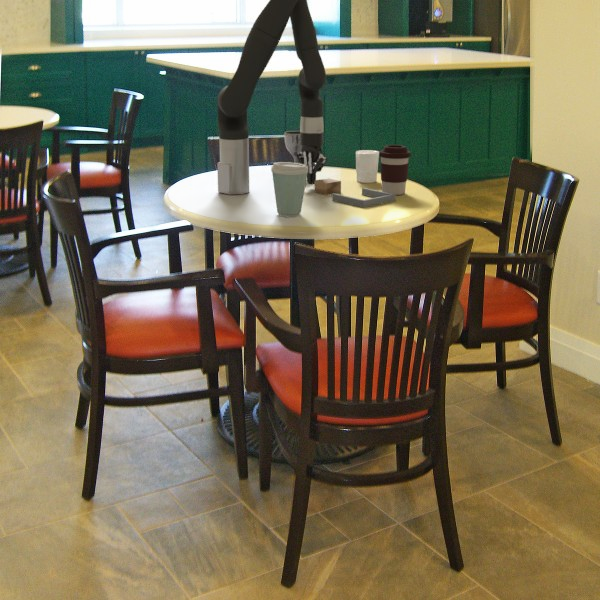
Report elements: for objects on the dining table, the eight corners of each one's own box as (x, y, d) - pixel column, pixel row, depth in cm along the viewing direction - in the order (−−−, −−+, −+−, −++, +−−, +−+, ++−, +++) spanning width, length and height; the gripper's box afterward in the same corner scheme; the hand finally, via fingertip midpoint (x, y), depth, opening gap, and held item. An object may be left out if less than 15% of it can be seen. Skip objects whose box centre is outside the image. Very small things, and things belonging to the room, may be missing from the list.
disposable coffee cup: (287, 209, 261) (287, 158, 257) (316, 214, 255) (316, 162, 250) (263, 215, 254) (263, 163, 249) (292, 221, 247) (292, 167, 242)
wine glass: (307, 177, 309) (307, 133, 304) (284, 177, 309) (284, 133, 304) (307, 173, 316) (307, 130, 312) (284, 173, 316) (284, 130, 312)
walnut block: (326, 195, 281) (326, 183, 279) (314, 192, 285) (314, 180, 284) (340, 193, 284) (341, 181, 283) (329, 190, 289) (329, 178, 287)
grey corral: (363, 207, 264) (363, 200, 263) (332, 200, 273) (332, 193, 273) (395, 200, 273) (395, 194, 272) (364, 194, 282) (364, 187, 282)
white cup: (376, 183, 298) (377, 154, 295) (353, 182, 300) (354, 153, 296) (379, 179, 306) (380, 150, 302) (356, 178, 307) (357, 149, 304)
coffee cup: (413, 191, 286) (415, 145, 281) (403, 197, 277) (405, 149, 272) (384, 189, 290) (385, 143, 285) (373, 194, 281) (374, 147, 276)
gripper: (289, 129, 286) (289, 182, 292) (317, 133, 277) (316, 188, 283) (306, 127, 291) (306, 179, 297) (334, 131, 282) (333, 185, 287)
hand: (311, 184), depth 290 cm, fingers closed
